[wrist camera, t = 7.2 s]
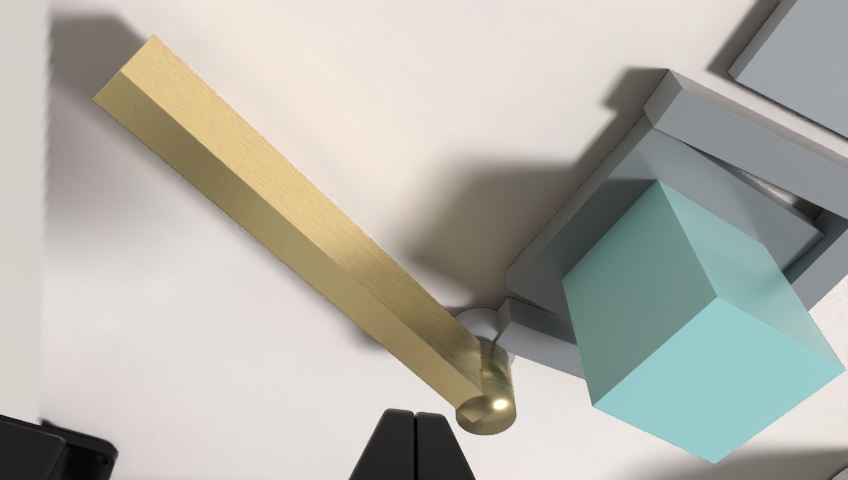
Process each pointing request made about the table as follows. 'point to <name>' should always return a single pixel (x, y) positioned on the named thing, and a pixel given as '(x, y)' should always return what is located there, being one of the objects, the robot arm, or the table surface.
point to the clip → (307, 232)
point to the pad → (802, 60)
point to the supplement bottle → (842, 475)
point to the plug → (681, 294)
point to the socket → (733, 143)
